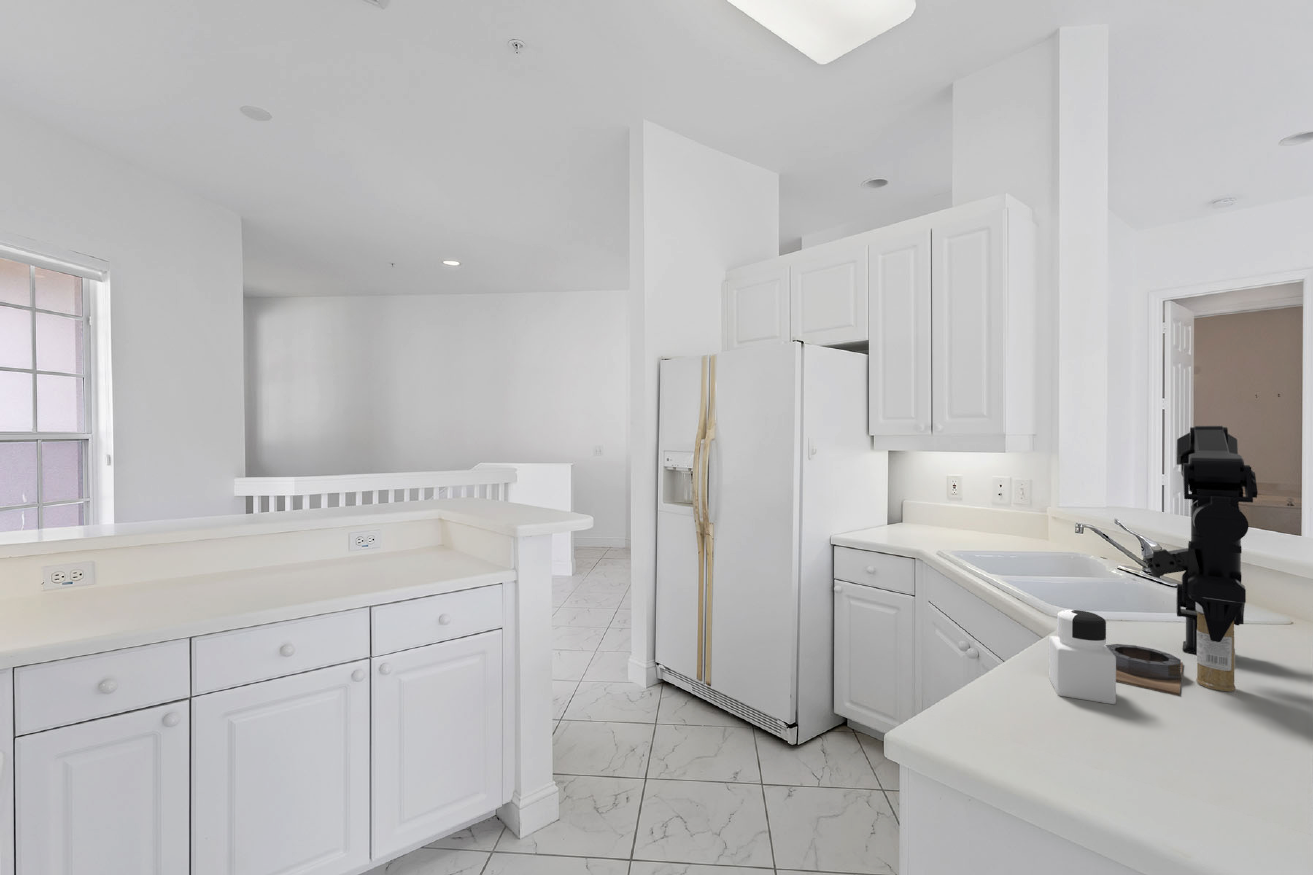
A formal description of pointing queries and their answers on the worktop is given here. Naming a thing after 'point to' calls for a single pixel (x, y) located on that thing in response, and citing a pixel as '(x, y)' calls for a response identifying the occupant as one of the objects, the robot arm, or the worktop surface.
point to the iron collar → (1146, 662)
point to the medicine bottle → (1082, 658)
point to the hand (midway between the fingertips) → (1215, 635)
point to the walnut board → (1151, 682)
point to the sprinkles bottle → (1214, 657)
